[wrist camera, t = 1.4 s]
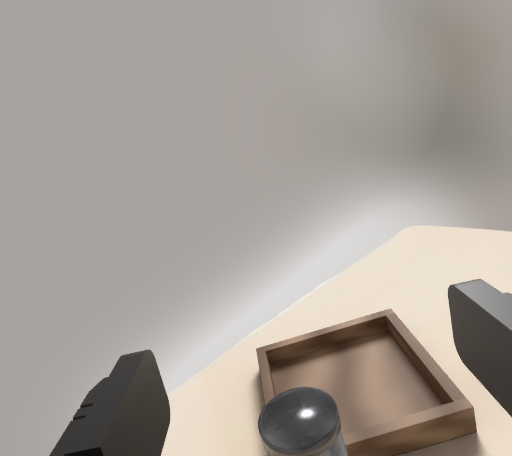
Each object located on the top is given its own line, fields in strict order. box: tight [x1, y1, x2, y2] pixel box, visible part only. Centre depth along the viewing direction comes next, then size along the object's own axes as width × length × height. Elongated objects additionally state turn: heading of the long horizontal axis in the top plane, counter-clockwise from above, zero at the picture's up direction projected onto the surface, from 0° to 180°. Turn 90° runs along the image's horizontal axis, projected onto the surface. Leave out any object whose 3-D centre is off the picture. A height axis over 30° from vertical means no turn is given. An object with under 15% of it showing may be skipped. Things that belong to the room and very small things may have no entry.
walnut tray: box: [256, 309, 477, 456], centre depth 40 cm, size 16×16×2 cm
